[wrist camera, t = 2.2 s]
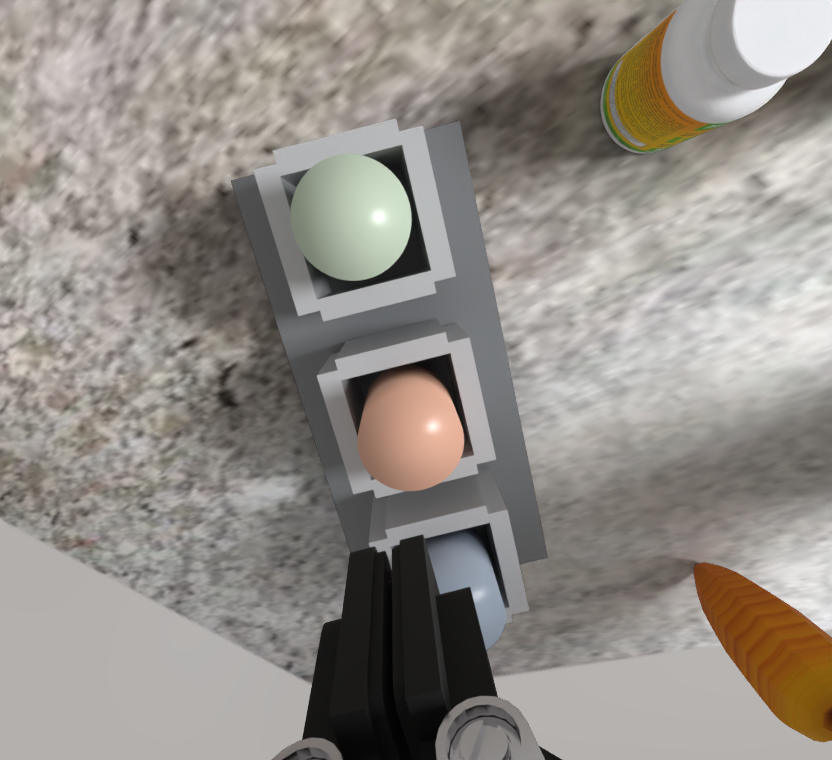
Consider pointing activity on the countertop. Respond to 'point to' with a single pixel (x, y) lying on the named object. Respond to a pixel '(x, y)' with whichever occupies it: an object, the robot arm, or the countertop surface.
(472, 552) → the button slate
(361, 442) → the button terracotta
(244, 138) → the countertop surface
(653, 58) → the supplement bottle
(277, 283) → the three-cup grey tray
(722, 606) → the carrot
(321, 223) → the button sage
